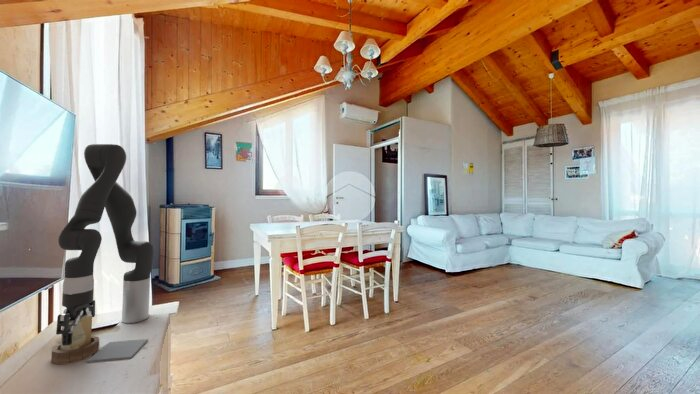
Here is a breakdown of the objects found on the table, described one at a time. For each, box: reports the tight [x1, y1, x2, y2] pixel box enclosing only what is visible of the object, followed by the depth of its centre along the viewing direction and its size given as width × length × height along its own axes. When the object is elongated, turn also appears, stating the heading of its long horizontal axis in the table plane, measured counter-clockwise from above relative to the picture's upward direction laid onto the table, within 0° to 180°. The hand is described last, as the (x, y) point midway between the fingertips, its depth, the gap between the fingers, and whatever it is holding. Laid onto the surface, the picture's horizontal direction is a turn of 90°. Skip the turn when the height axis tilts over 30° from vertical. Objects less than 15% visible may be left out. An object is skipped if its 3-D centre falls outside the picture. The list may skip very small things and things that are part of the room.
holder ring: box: [50, 335, 100, 365], centre depth 95 cm, size 11×11×4 cm
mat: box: [87, 338, 149, 363], centre depth 98 cm, size 12×12×1 cm
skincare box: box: [60, 314, 93, 351], centre depth 95 cm, size 6×4×12 cm
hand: (76, 338), depth 95 cm, fingers open, 8 cm apart
